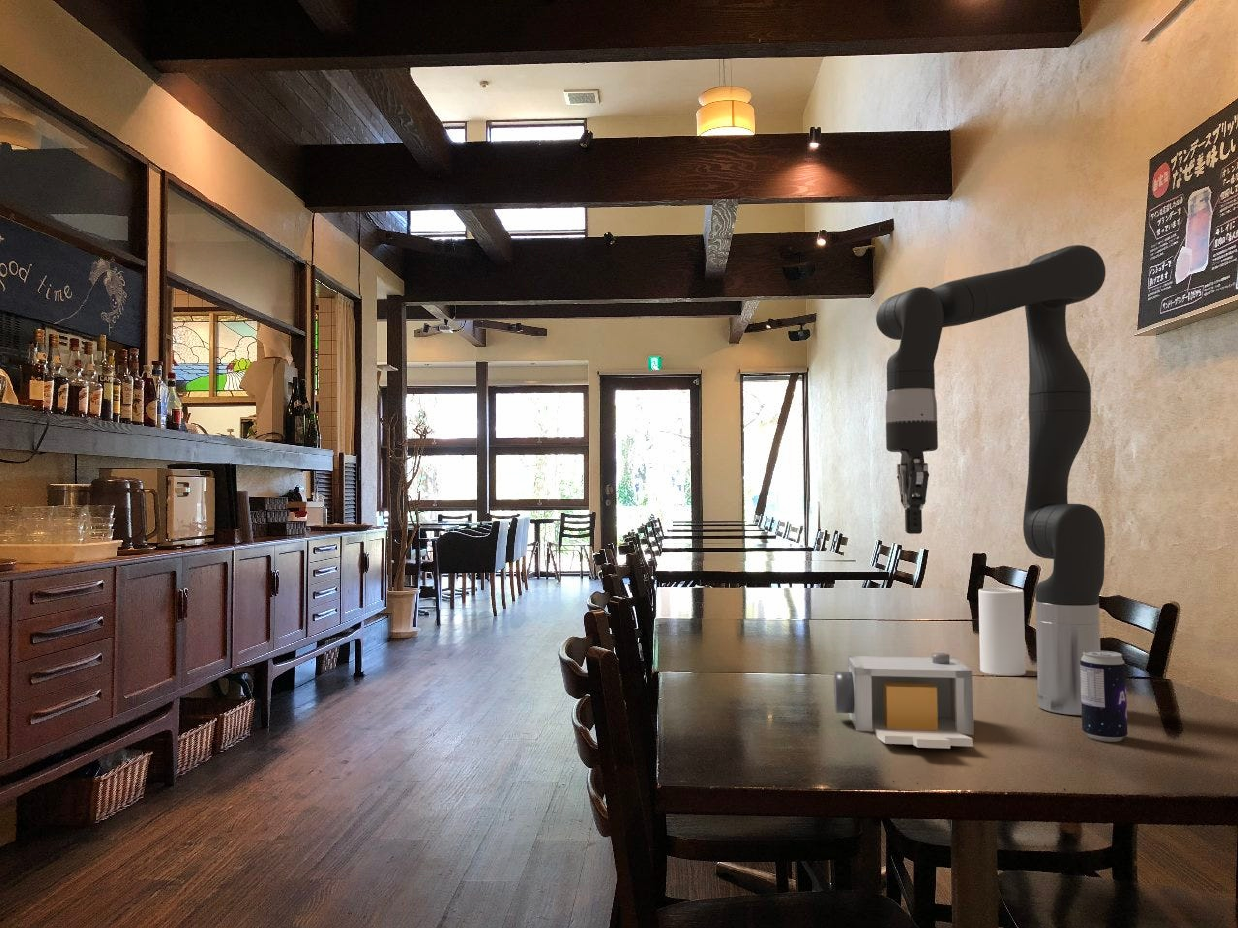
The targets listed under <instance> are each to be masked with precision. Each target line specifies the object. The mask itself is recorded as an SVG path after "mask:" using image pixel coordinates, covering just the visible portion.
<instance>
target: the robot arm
mask: <svg viewBox="0 0 1238 928" xmlns="http://www.w3.org/2000/svg"><path fill="white" fill-rule="evenodd" d="M1106 272H1107V271H1106V266H1105V262H1104V260H1103V258H1102V256H1101V255H1100V254H1099V252H1098V251H1096V250H1095V249H1094V248H1092V247H1089V246H1088V245H1084V244H1082V245H1080V244H1075V245H1068V246H1065V247H1062V248H1060V249H1057V250H1054V251H1051V252H1048V253H1044V254H1042V255H1039V256H1037V257H1036V258H1034V259H1032V260H1031V261H1030V262H1029V263H1028V264H1025V265H1022V266H1017V267H1013V268H1008V269H1004V270H998V271H994V272H988V273H983V274H978V275H974V276H973V275H972V276H968V277H965V278H959V279H956V280H955V279H954V280H951V281H948V282H945V283H943V284H942V283H941V284H940V285H937V286H934V287H932V288H929V287H925V286H920V287H914V288H911V289H908V290H906V291H903V292H900V293H898V294H895V295H893V296H890V297H888V298H887V299H885V300H884V301H883V302H882V303H881V304H880V305H879V307H878V309H877V312H876V316H875V321H876V326H877V328H878V330H879V331H880V332H881V334H883V335H884V336H885V337H887V338H888V339H891V340H897V341H899V340H900V341H899V342H900V344H899V348H898V349H897V351H896V352H894V353H893V354H892V355H890V356H889V358H888V360H887V362H886V400H885V438H886V439H885V440H886V441H885V443H886V444H885V445H886V447H885V448H886V450H887V452H890V453H899V454H901V456H900V463H897V464H896V465H897V466H896V471H897V473H896V474H897V476H896V479H897V480H898V488H899V489H898V490H899V495H900V502H901V505H902V507H903V509H904V520H905V521H904V525H905V529H904V530H905V533H907V534H909V535H910V534H911V535H915V534H918V535H919V534H921V533H922V532H923V515H922V513H923V512H922V511H923V510H922V509H924V505H925V504H926V502H927V490H928V484H929V477H930V473H929V464H928V462H925V457H924V452H925V453H926V452H934V451H937V449H938V447H939V442H938V441H939V440H938V439H939V438H938V437H939V436H938V403H937V398H936V391H935V390H936V385H935V384H936V383H935V382H936V380H935V379H936V378H935V377H936V376H935V374H936V373H935V360H936V357H937V354H938V351H939V344H940V341H941V336H942V332H943V328H948V327H949V328H950V327H957V326H962V325H965V324H968V323H973V322H977V321H980V320H981V321H982V320H984V319H988V318H991V317H994V316H998V315H1001V314H1003V313H1007V312H1010V311H1013V310H1016V309H1018V308H1022V307H1024V311H1025V319H1026V326H1027V327H1026V328H1027V335H1028V336H1027V338H1028V367H1029V368H1028V369H1029V370H1028V372H1029V373H1028V375H1029V380H1028V381H1029V385H1028V425H1029V426H1028V427H1029V432H1028V433H1029V435H1028V436H1029V437H1028V438H1029V440H1028V441H1029V442H1028V447H1029V448H1028V470H1027V471H1028V473H1027V485H1026V493H1025V502H1024V511H1023V522H1022V523H1023V524H1022V525H1023V528H1022V529H1023V530H1022V531H1023V537H1024V540H1025V544H1026V545H1027V547H1028V549H1029V551H1030V552H1031V553H1032V554H1033V555H1034V556H1036V557H1039V558H1042V559H1050V560H1053V565H1052V566H1053V567H1052V573H1051V575H1050V576H1049V577H1048V578H1046V579H1045V580H1042V581H1040V582H1037V584H1036V586H1035V587H1034V588H1035V589H1034V590H1035V591H1034V592H1035V593H1034V594H1035V597H1034V598H1035V630H1036V632H1035V633H1036V636H1035V637H1036V667H1037V669H1036V670H1037V671H1036V672H1037V673H1036V675H1037V678H1036V679H1037V706H1038V707H1039V708H1040V709H1042V710H1044V711H1048V712H1050V713H1055V714H1060V715H1061V714H1063V715H1071V716H1082V705H1081V669H1080V660H1081V658H1082V657H1083V655H1084V654H1083V652H1084V651H1089V650H1100V651H1101V629H1100V628H1101V626H1100V592H1101V590H1102V588H1103V585H1104V582H1105V581H1104V580H1105V555H1106V533H1105V528H1104V527H1105V526H1104V524H1103V520H1102V518H1101V516H1100V515H1099V513H1098V512H1097V511H1096V510H1095V509H1094V508H1093V507H1091V506H1089V505H1087V504H1084V503H1083V504H1081V503H1069V502H1068V489H1069V488H1068V487H1069V485H1068V483H1069V477H1070V476H1069V475H1070V472H1071V469H1072V466H1073V463H1074V461H1075V459H1076V457H1077V455H1078V453H1079V452H1080V449H1081V448H1082V445H1083V444H1084V441H1085V439H1086V437H1087V434H1088V432H1089V430H1090V429H1089V428H1090V426H1091V420H1092V389H1091V388H1092V386H1091V381H1090V378H1089V376H1088V373H1087V372H1086V370H1085V368H1084V367H1083V364H1082V363H1081V361H1080V359H1079V358H1078V356H1077V355H1076V353H1075V352H1074V350H1073V348H1072V346H1071V344H1070V342H1069V339H1068V335H1067V334H1068V333H1067V324H1066V321H1067V320H1066V310H1067V306H1068V305H1072V304H1075V303H1080V302H1083V301H1085V300H1087V299H1089V298H1091V297H1093V296H1094V295H1096V294H1097V292H1099V291H1100V290H1101V288H1102V286H1104V285H1103V284H1104V283H1105V280H1106Z"/></svg>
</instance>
